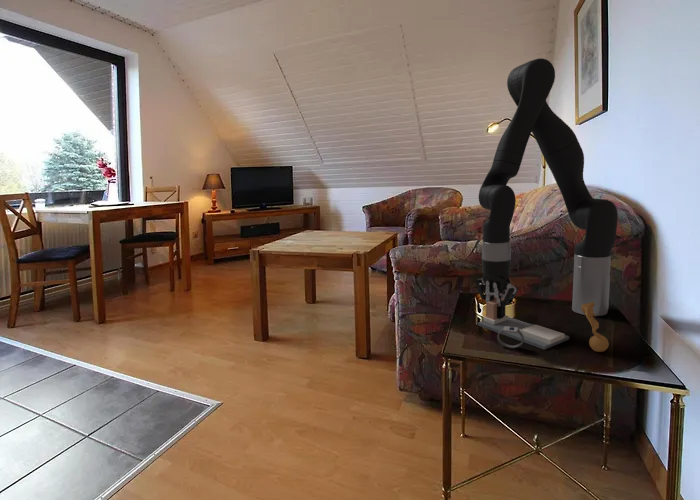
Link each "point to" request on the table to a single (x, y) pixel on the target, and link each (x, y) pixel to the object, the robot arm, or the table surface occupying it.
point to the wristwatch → (510, 330)
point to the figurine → (598, 340)
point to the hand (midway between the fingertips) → (495, 316)
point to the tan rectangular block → (493, 313)
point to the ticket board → (528, 333)
